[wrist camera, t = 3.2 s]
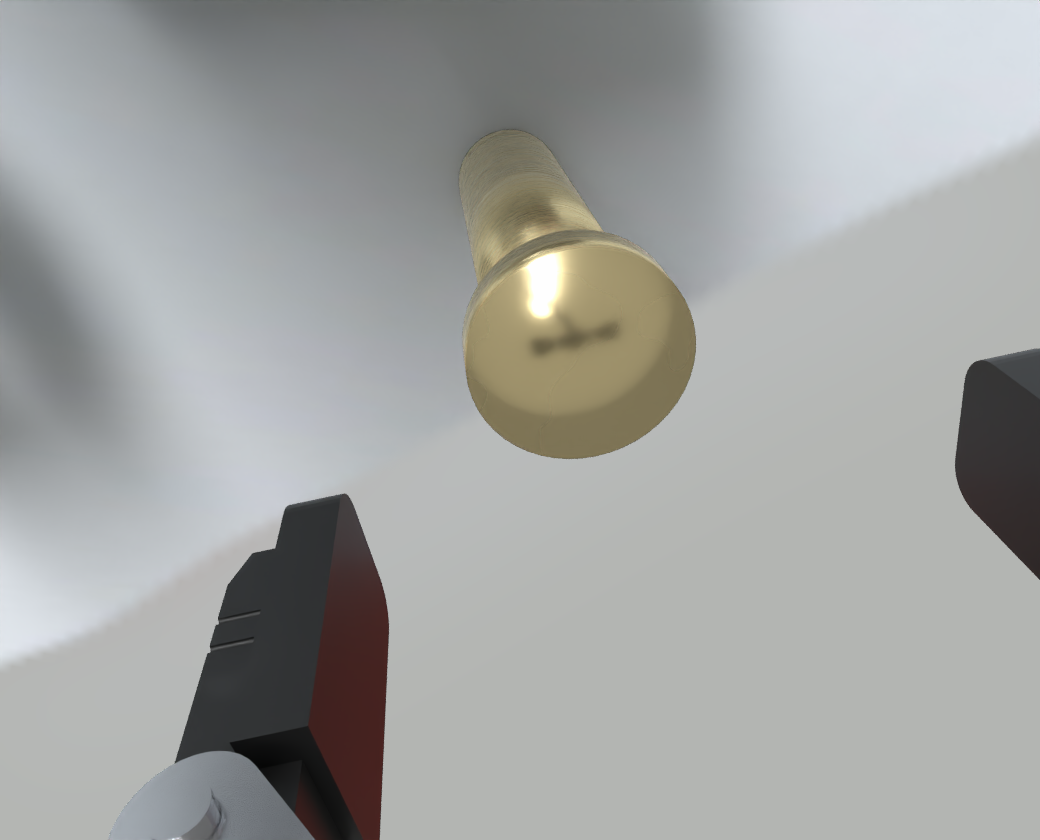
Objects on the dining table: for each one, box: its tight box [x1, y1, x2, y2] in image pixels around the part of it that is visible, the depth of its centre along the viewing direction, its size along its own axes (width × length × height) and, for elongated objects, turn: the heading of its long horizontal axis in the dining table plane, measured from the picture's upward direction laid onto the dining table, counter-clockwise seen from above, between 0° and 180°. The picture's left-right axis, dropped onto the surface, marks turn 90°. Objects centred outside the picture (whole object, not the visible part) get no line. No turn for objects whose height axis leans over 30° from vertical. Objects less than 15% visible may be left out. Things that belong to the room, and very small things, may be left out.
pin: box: [459, 130, 696, 459], centre depth 19 cm, size 4×4×12 cm
